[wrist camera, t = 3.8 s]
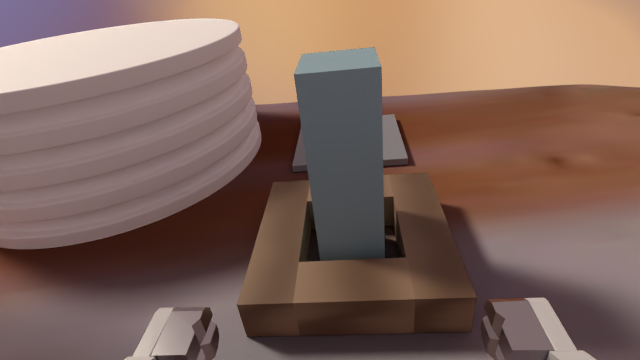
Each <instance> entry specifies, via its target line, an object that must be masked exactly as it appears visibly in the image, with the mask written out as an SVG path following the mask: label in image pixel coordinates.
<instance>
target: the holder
mask: <svg viewBox="0 0 640 360" xmlns="http://www.w3.org/2000/svg"><path fill="white" fill-rule="evenodd" d="M383 181H384V226H394V231H395V237H396V242H397V247H398V253H399V258H381V259H357V260H334V261H310V262H308V256H309V246H310V237H311V230H316V227H315V220H314V213H313V206H312V199H311V192H310V184H309V180H300V181H285V182H273V184H272V188H271V191H270V195H269V198H268V201H267V205H266V208H265V212H264V215H263V218H262V222H261V225H260V228H259V232H258V235H257V239H256V242H255V245H254V249H253V252H252V255H251V259H250V262H249V266H248V269H247V272H246V276H245V279H244V282H243V286H242V289H241V293H240V296H239V299H238V303H237V307H238V310H239V313H240V316H241V319H242V322H243V325H244V328H245V331H246V335H247V337H262V336H305V335H349V334H393V333H437V332H471V329H472V323H473V317H474V311H475V305H476V299H477V296H476V294H475V291H474V289H473V286H472V284H471V281H470V279H469V276H468V273H467V271H466V268H465V266H464V263H463V261H462V258H461V256H460V253H459V250H458V248H457V245H456V243H455V240H454V238H453V235H452V233H451V230H450V227H449V225H448V222H447V220H446V217H445V215H444V212H443V210H442V207H441V204H440V202H439V199H438V197H437V194H436V192H435V189H434V187H433V184H432V181H431V179H430V176H429V174H428V172H427V173H411V174H395V175H383Z"/></svg>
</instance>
